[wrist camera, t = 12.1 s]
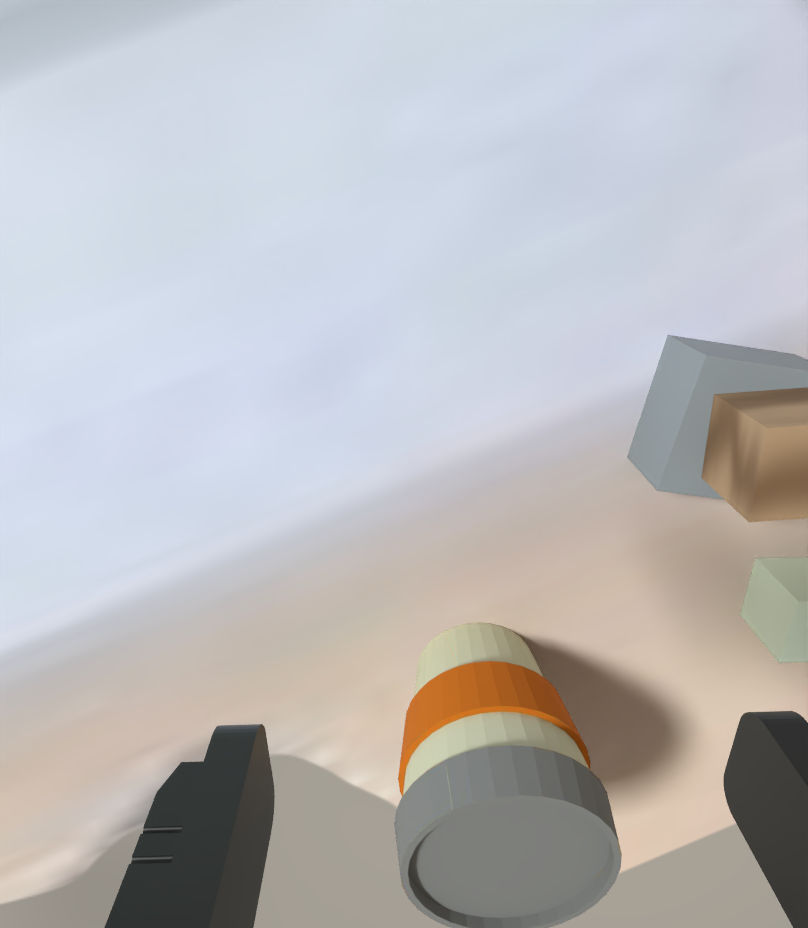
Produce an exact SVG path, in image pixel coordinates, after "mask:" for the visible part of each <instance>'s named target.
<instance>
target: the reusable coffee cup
mask: <svg viewBox="0 0 808 928" xmlns="http://www.w3.org/2000/svg"><path fill="white" fill-rule="evenodd" d="M398 780H399V787H400V792H401V794H402V799H401V801H400V803H399V805H398V808H397V810H396V817H395V833H396V842H397V850H398V859H399V867H400V875H401V881H402V886H403V889H404V890H405V893H406V894H407V896H408V898H409V900H410V901H411V902H412V903H413V904H414V905H415V906H416V907H417V909H419V910H420V911H421V912H423V913H424V914H425V915H427V916H428V917H430V918H431V919H433V920H435V921H437V922H439V923H441V924H444V925H446V926H449V927H452V928H549V927H551V926H555V925H558V924H561V923H563V922H566V921H568V920H570V919H572V918H574V917H576V916H578V915H580V914H582V913H583V912H585V911H586V910H588V909H589V908H591V907H592V906H594V905H595V904H596V903H597V902H598V901H599V900H600V899H601V898H602V897H604V896H605V895H606V894H607V892H608V891H609V889H610V888H611V887H612V885H613V884H614V882H615V881H616V878H617V876H618V873H619V871H620V867H621V855H622V854H621V850H620V846H619V842H618V837H617V833H616V829H615V825H614V820H613V816H612V812H611V808H610V804H609V799H608V795H607V792H606V790H605V788H604V787H603V785H602V783H601V781H600V780H599V778H598V777H597V776H596V775H595V774H594V773H592V772H591V771H590V760H589V756H588V751H587V748H586V746H585V745H584V743H583V741H582V739H581V737H580V735H579V733H578V731H577V729H576V727H575V725H574V723H573V721H572V719H571V717H570V715H569V713H568V711H567V709H566V707H565V705H564V703H563V702H562V700H561V698H560V696H559V694H558V692H557V691H556V689H555V688H554V687H553V686H552V685H551V683H550V682H549V681H548V680H547V679H545V678H544V677H543V675H542V673H541V671H540V669H539V667H538V665H537V663H536V661H535V659H534V657H533V655H532V653H531V651H530V649H529V647H528V646H527V644H526V643H525V642H524V640H523V639H522V638H521V637H520V636H518V635H517V634H515V633H514V632H513V631H511V630H509V629H506V628H504V627H502V626H498V625H494V624H489V623H471V624H464V625H460V626H456V627H453V628H451V629H449V630H446V631H444V632H443V633H441V634H440V635H438V636H436V637H435V638H434V639H433V640H432V641H431V642H430V643H429V644H428V645H427V646H426V648H425V649H424V650H423V652H422V654H421V656H420V659H419V661H418V668H417V676H416V685H415V694H414V698H413V699H412V701H411V703H410V706H409V708H408V710H407V714H406V721H405V729H404V737H403V745H402V753H401V761H400V769H399V777H398Z"/></svg>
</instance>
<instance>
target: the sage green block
mask: <svg viewBox="0 0 808 928" xmlns="http://www.w3.org/2000/svg"><path fill="white" fill-rule="evenodd" d="M740 616H741V617H742V618H743V619H744V621H745V622H746V623H747V624H748V626H749V627H750V628H751V629H752V631H753V632H754V633H755V634H756V635H757V637H758V638H759V639H760V640H761V642H762V643H763V644H764V645H765V647H766V648H767V649H768V650H769V651H770V653H771V654H772V655H773V656H774V658H775V659H776V660H777V661H778V663H786V662H808V557H785V558H756V559H755V562H754V566H753V570H752V573H751V577H750V580H749V584H748V588H747V591H746V595H745V598H744V602H743V606H742V609H741V613H740Z"/></svg>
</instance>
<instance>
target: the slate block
mask: <svg viewBox="0 0 808 928" xmlns="http://www.w3.org/2000/svg"><path fill="white" fill-rule="evenodd" d="M806 387H808V360H807V359H804V358H802V357H799V356H797V355H795V354H789V353H782V352H776V351H769V350H762V349H756V348H749V347H743V346H736V345H730V344H723V343H717V342H710V341H704V340H697V339H691V338H684V337H678V336H671V335H668V336H667V339H666V342H665V345H664V348H663V351H662V354H661V357H660V360H659V363H658V366H657V369H656V372H655V375H654V378H653V381H652V384H651V387H650V390H649V393H648V396H647V399H646V402H645V405H644V408H643V411H642V414H641V417H640V420H639V423H638V426H637V429H636V432H635V435H634V438H633V441H632V444H631V447H630V450H629V453H628V456H627V457H628V458H629V460H630V461H631V462H632V463H633V464H634V465H635V466H636V468H637V469H638V470H639V471H640V472H641V473H642V474H643V476H644V477H645V478H646V479H647V480H648V481H649V482H650V484H651V485H652V486H653V487H654V488H655V489H656V490H657V491H663V492H671V493H678V494H686V495H694V496H701V497H709V498H717V499H723V498H722V497H721V496H720V495H719V494H718V493H717V492H716V491H715V490H714V489H713V488H712V487H711V486H709V485H708V484H707V483H706V482H705V481H704V480H703V479H702V478H701V476H702V469H703V463H704V456H705V450H706V443H707V437H708V430H709V424H710V417H711V411H712V404H713V398H714V394H724V393H738V392H751V391H765V390H779V389H792V388H806ZM724 500H725V499H724Z"/></svg>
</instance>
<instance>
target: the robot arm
mask: <svg viewBox="0 0 808 928" xmlns="http://www.w3.org/2000/svg"><path fill="white" fill-rule="evenodd" d="M724 791H725V796H726V800H727V803H728V806H729V809H730V811H731V814H732V816H733V818H734V819H735V821H736V823H737V825H738V827H739V829H740V830H741V832H742V834H743V836H744V838H745V840H746V841H747V843H748V845H749V847H750V849H751V851H752V852H753V854H754V856H755V858H756V860H757V862H758V864H759V865H760V867H761V869H762V871H763V873H764V874H765V876H766V878H767V880H768V882H769V884H770V885H771V887H772V889H773V891H774V893H775V895H776V897H777V898H778V900H779V902H780V904H781V906H782V908H783V910H784V911H785V913H786V915H787V917H788V918H789V921H790V922H791V924H792V926H793V928H808V723H807V721H806V720H805V719H804V718H803V717H802V716H801V715H799V714H798V713H796V712H793V711H779V712H747V713H745V714H743V716H742V717H741V719H740V722H739V725H738V728H737V732H736V735H735V739H734V742H733V745H732V749H731V752H730V755H729V759H728V762H727V766H726V769H725V773H724ZM273 814H274V784H273V777H272V770H271V764H270V757H269V751H268V745H267V738H266V732H265V728H264V726H263V725H262V724H260V725H224V726H217V727H216V729H215V730H214V732H213V735H212V738H211V741H210V744H209V747H208V750H207V753H206V756H205V759H204V762H181V763H180V764H179V766H178V767H177V768H176V769H175V771H174V772H173V773H172V774H171V775H170V777H169V778H168V779H167V780H166V782H165V783H164V784H163V785H162V787H161V788H160V789H159V790H158V791H157V793H156V796H155V798H154V801H153V804H152V806H151V809H150V811H149V814H148V817H147V819H146V822H145V824H144V830H143V834H141V835H140V837H139V840H138V842H137V845H136V848H135V850H134V853H133V855H132V862H131V864H129V866H128V868H127V871H126V874H125V876H124V879H123V881H122V884H121V887H120V889H119V892H118V894H117V897H116V900H115V902H114V905H113V907H112V910H111V912H110V915H109V918H108V920H107V923H106V925H105V928H253V926H254V921H255V916H256V910H257V905H258V899H259V894H260V889H261V883H262V878H263V872H264V867H265V862H266V856H267V851H268V845H269V840H270V835H271V829H272V822H273Z"/></svg>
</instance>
